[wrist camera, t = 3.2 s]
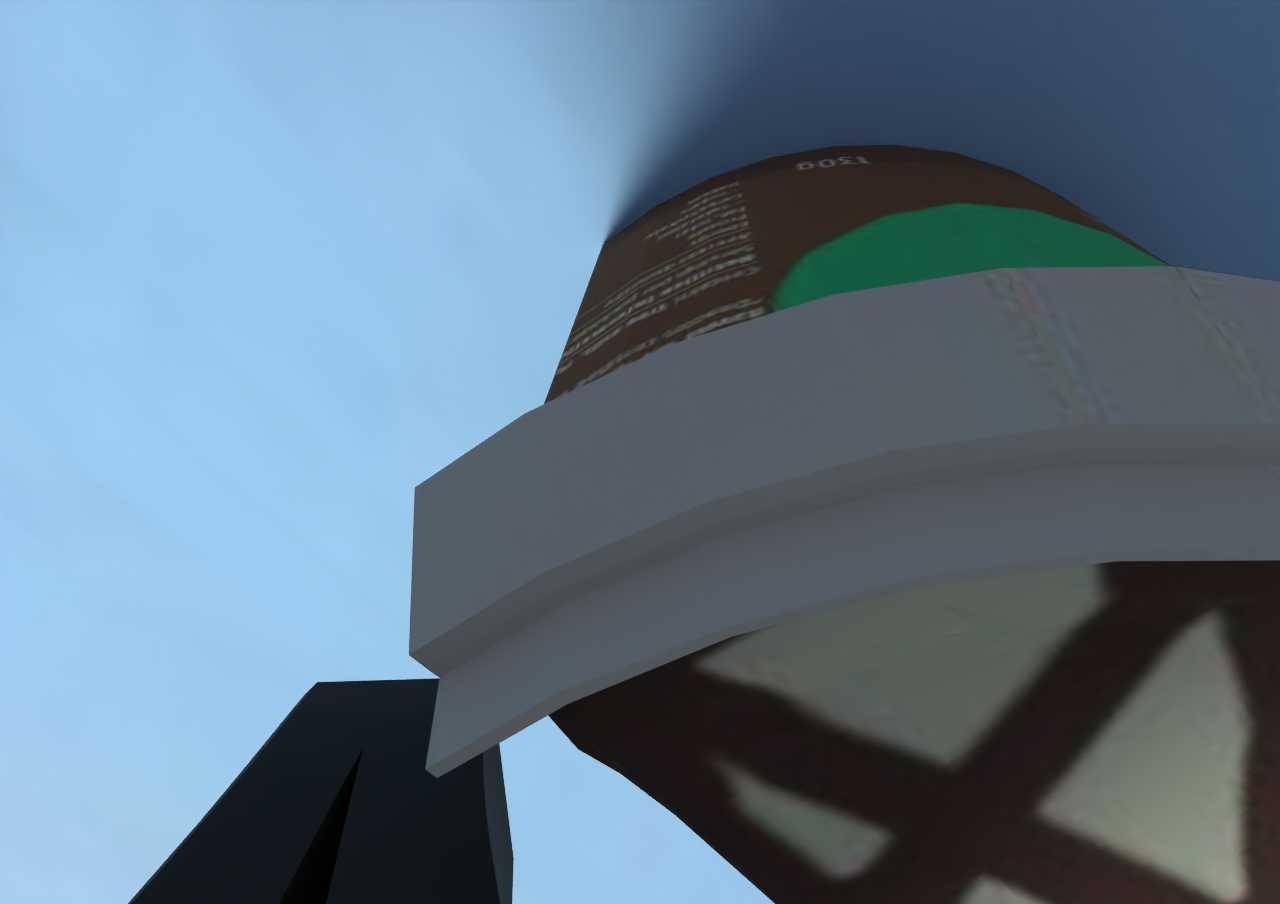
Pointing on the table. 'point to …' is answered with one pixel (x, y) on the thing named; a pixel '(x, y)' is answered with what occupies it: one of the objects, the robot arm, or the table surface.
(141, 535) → the table surface
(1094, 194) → the table surface
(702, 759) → the food container
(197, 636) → the table surface
